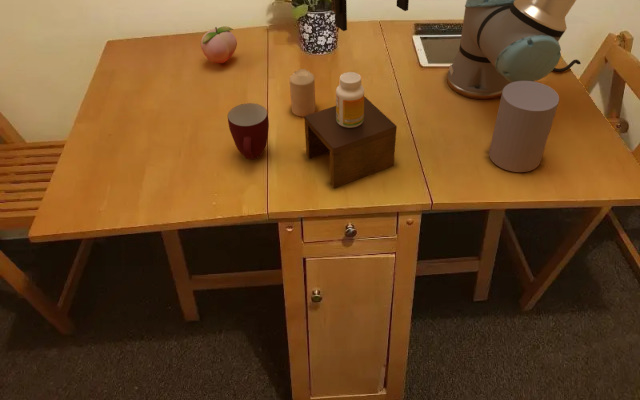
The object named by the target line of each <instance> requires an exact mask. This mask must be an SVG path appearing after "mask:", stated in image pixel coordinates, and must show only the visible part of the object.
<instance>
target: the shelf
mask: <svg viewBox="0 0 640 400" xmlns="http://www.w3.org/2000/svg"><path fill="white" fill-rule="evenodd" d="M303 119H304V120H303V121H304V136H305V137H304V138H305V153H306V154H305V155H306V157H307V158H308V159H309V160H311V159H313V158H316V157H319V156H322V155H325V154H327V153H329V184H330V186H331V187H332V189H336V188H339V187H341V186H342V187H343V186H344V185H347V184H350V183H352V182H354V181H358V180H359V179H363V178H365V177H368V176H370V175H373V174H376V173H378V172H382V171H384V170H386V169H389V168H391V167H394V166H395V153H396V140H397V130H398V129H397V125H396V124H395V123H394V122H393V121H392V120H391V119H390V118H389V117H388V116H387V115H386V114H384V113H383V112H382V111H381V110H380V109H379V108H378V107H377V106H376V105H375V104H374V103H372V102H371V101H370V100H369V99H368V98H367V97H366V96H365V95H364V120H363V122H362V124H361V125H359V126H357V127H353V128H347V127H343V126H341V125H339V124H338V123H337V120H336V105H334V106H330V107H328V108H324V109H321V110H319V111H315V112H314V113H312V114H309V115H306V116H304V118H303Z"/></svg>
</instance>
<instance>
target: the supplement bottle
mask: <svg viewBox="0 0 640 400" xmlns="http://www.w3.org/2000/svg"><path fill="white" fill-rule="evenodd" d="M338 83H339V84H338V85H337V87H336V89H335V106H336V120H337V123H338V124H339V125H341V126H343V127H347V128H353V127H357V126H359V125H361V124H362V122H363V120H364V96H365V88H364V85H362V76H361V75H360V74H359V72H355V71H347V72H343V73H341V74H340V76H339V81H338Z"/></svg>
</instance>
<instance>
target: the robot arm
mask: <svg viewBox="0 0 640 400" xmlns="http://www.w3.org/2000/svg"><path fill="white" fill-rule="evenodd" d="M409 1H410V0H396V7H397V8H399V9H400V10H402V11H404V12H407V11H409ZM576 2H577V0H466V1H465V4H464V7H465V8H464V15H463V21H462V29H461V34H460V42H459V48H458V52H457V53H456V55H455V57H454V59H453V62H452V63H451V64H450V65H449V67H448V71H447V75H446V76H447V77H446V82H447V85H448V87H449V88H450V89H451V90H452V91H454V93H457V94H459V95H461V96H462V97H466V98H470V99H475V100H492V99H493V100H494V99H498V98H501V96H502V92H503V89H504V87H505V86H506V85H508V84H510V83H512V82H516V81H534V82H538V81H540V80H542V79H544V78H545V77H547V76H548V75H549V74H551V72H554V73H564V72H567V71H568V70H569V69H570V68H571V69H572V67H573V66H574V65H575V64H577V65H581V63H582V62H581V61H580V60H579V59H573V60H572V61H571V62H569V64H568V65H566V66H564V67H562V68H557V65H558V64H559V62H560V59H561V58H562V57H561V56H562V53H561V51H562V48H561V45H560V42H559V41H560V39H561V38H562V36H563V35H564V33H565V32H566V31H567V23H566V22H567V21H566V17H567V15H568V14H569V12H570V11H571V9H572V8H573V6H574V5H575V3H576ZM330 4H331V5H330V8H331V10H332V12H333V13H335V15H334V17H335V27H337V28H339V29H340V30H341V31H342V32H346V31H348V13H347V12H348V11H347V10H348V9H347V8H348V7H347V6H348V5H347V0H330Z"/></svg>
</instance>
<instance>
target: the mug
mask: <svg viewBox="0 0 640 400" xmlns="http://www.w3.org/2000/svg"><path fill="white" fill-rule="evenodd" d="M268 113H269V112H268V110H267V108H266V107H264V106H263V105H262V104H258V103H252V102H247V103H242V104H238V105H236V106H233V107H232V108H231V109H230V110H229V111H228V113H227V124H228V127H229V128H228V129H229V131H230V134H231V137H232V139H233V142H234V145H235V147H236V149H237V150H238V151H239V153H240V154H241V155H242V156H243V157H244V158H245V159H247V160H256V159H258V158H261V156H262V155H263V153H264V152H265V149H266V148H267V144H268V137H269V126H270V124H269V114H268Z"/></svg>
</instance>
